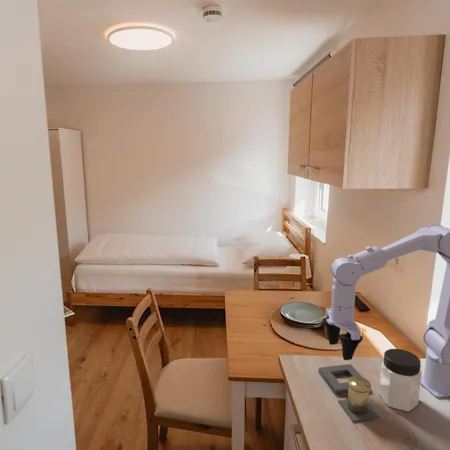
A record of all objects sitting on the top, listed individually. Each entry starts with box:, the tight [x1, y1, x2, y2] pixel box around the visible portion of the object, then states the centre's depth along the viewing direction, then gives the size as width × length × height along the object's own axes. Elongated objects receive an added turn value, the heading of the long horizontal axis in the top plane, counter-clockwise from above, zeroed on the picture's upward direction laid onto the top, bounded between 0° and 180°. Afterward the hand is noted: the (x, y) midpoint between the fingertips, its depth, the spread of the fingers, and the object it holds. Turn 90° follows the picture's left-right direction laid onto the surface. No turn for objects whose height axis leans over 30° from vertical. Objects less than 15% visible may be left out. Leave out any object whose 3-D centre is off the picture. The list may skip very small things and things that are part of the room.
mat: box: [337, 398, 381, 423], centre depth 84 cm, size 7×7×1 cm
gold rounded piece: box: [347, 376, 372, 415], centre depth 83 cm, size 5×5×7 cm
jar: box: [378, 348, 423, 412], centre depth 86 cm, size 9×8×12 cm
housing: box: [318, 363, 363, 396], centre depth 94 cm, size 10×10×2 cm
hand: (340, 351), depth 92 cm, fingers open, 7 cm apart
